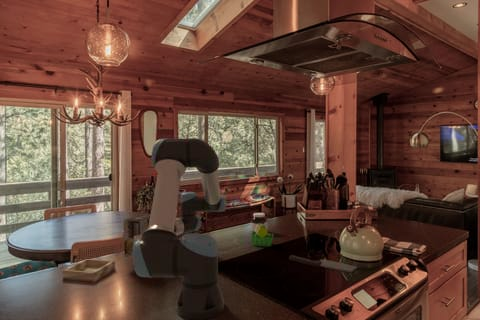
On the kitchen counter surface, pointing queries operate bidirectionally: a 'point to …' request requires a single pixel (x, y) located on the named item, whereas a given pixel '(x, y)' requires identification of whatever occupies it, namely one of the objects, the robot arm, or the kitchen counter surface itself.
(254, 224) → the spread jar
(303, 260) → the cleaver
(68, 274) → the box
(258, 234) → the fruit basket
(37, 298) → the kitchen counter surface
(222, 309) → the robot arm
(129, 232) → the coffee box
